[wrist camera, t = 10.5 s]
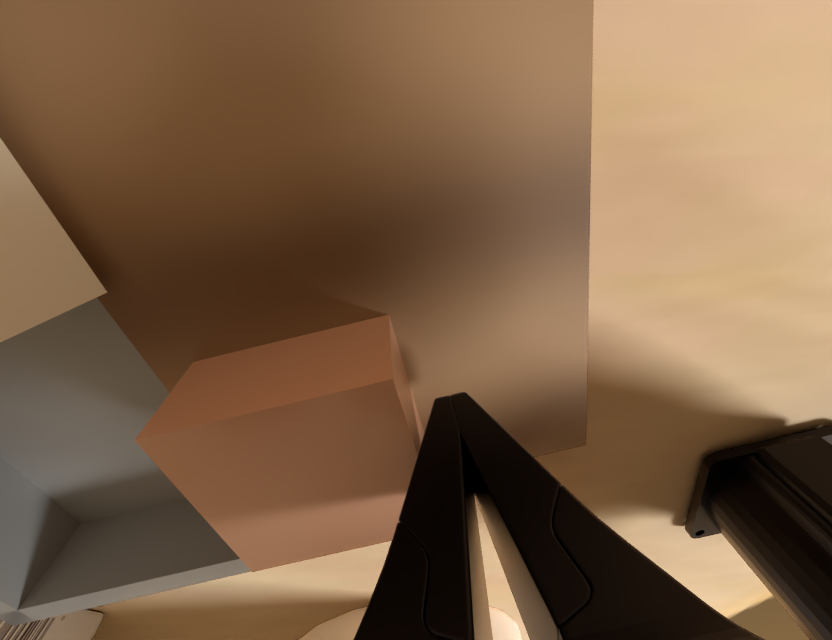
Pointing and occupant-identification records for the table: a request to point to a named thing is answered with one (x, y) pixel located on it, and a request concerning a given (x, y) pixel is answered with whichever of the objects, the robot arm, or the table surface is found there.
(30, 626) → the coffee box
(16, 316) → the cream tile
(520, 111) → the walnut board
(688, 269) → the table surface
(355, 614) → the canister
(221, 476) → the terracotta tile
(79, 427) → the grey tray
